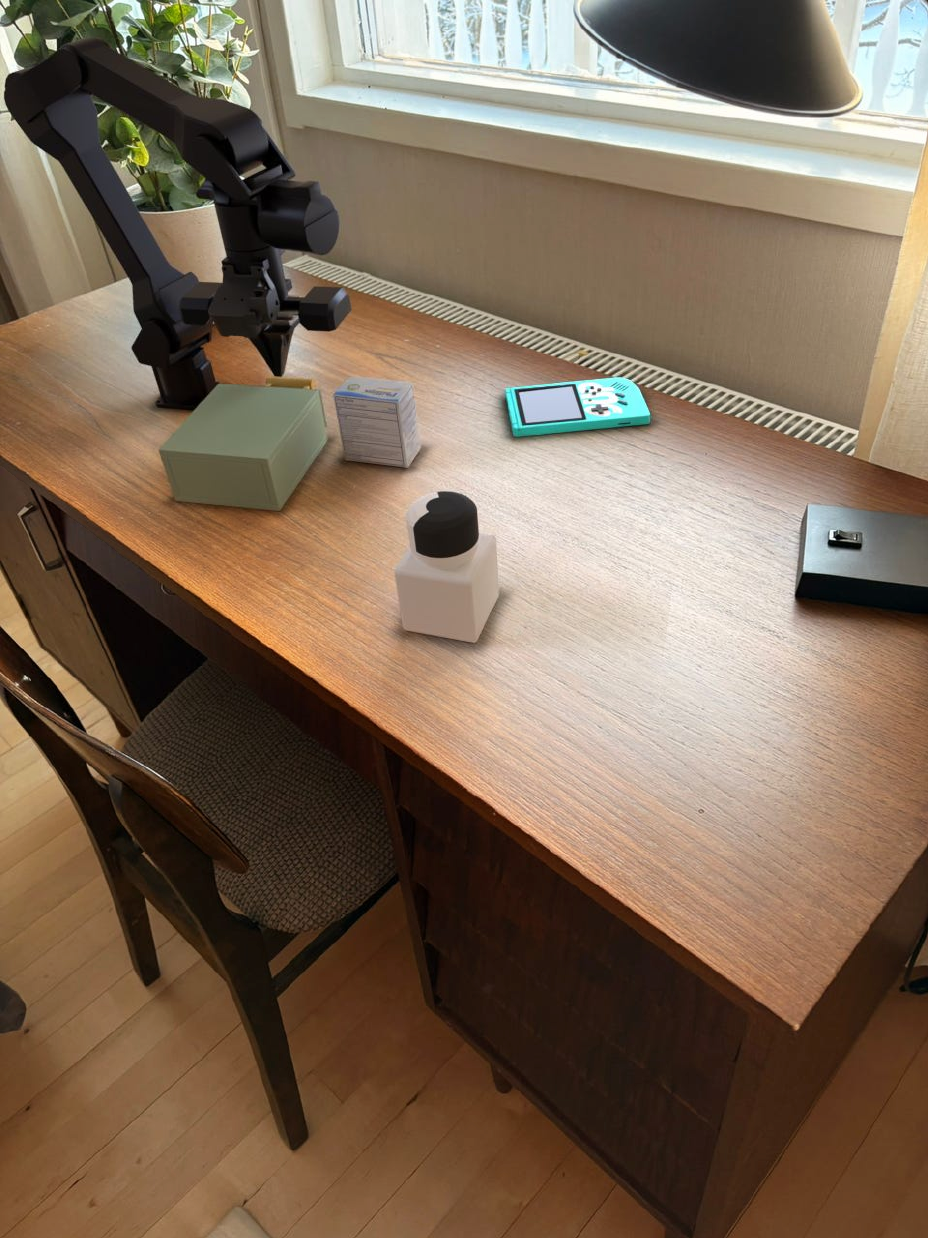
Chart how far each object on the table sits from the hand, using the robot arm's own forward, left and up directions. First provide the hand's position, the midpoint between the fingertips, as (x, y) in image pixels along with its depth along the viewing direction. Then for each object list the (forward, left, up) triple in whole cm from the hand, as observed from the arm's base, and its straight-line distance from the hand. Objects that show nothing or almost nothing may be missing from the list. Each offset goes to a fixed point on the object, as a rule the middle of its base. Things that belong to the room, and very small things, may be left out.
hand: (279, 375), depth 112 cm
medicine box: (+14, -6, -6) cm, 17 cm away
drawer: (0, -6, -5) cm, 8 cm away
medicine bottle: (+29, -31, -6) cm, 43 cm away
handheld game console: (+34, +7, -6) cm, 35 cm away
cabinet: (0, -11, -6) cm, 12 cm away
